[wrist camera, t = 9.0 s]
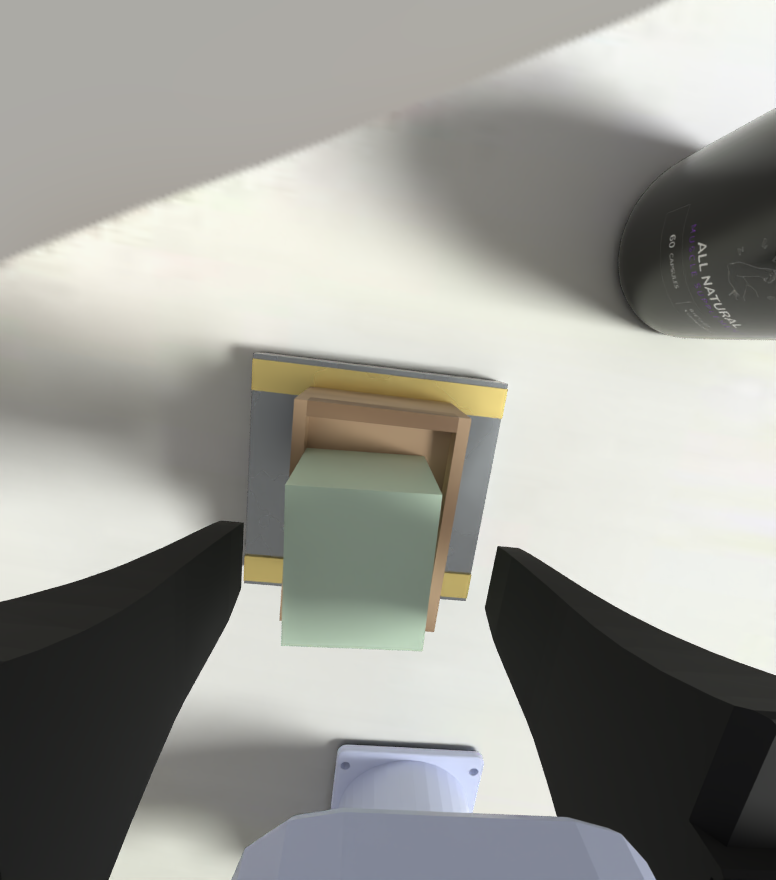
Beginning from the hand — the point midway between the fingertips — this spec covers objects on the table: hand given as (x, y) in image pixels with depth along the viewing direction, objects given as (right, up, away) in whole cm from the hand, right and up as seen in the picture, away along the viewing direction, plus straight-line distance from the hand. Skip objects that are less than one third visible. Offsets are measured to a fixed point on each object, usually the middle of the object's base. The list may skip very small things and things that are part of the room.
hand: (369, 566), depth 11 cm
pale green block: (0, +1, +3) cm, 3 cm away
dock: (0, +2, +7) cm, 7 cm away
